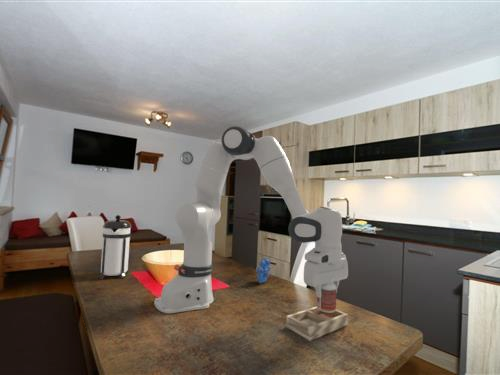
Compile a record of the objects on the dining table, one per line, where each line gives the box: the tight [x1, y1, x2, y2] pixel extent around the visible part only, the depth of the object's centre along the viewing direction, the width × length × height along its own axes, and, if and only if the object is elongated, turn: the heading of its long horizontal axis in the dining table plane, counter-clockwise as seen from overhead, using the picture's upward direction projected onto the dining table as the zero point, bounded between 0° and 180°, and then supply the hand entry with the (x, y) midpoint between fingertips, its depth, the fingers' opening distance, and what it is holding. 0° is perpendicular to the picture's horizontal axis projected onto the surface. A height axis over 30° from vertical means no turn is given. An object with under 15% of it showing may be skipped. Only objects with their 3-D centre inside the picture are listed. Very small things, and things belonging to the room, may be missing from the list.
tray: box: [285, 305, 349, 342], centre depth 87 cm, size 19×10×4 cm, turn 127°
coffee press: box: [98, 214, 132, 280], centre depth 133 cm, size 17×16×30 cm
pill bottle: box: [316, 278, 337, 313], centre depth 90 cm, size 6×6×11 cm
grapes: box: [256, 257, 272, 284], centre depth 131 cm, size 12×7×12 cm, turn 148°
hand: (326, 295), depth 90 cm, fingers closed on pill bottle, 6 cm apart
